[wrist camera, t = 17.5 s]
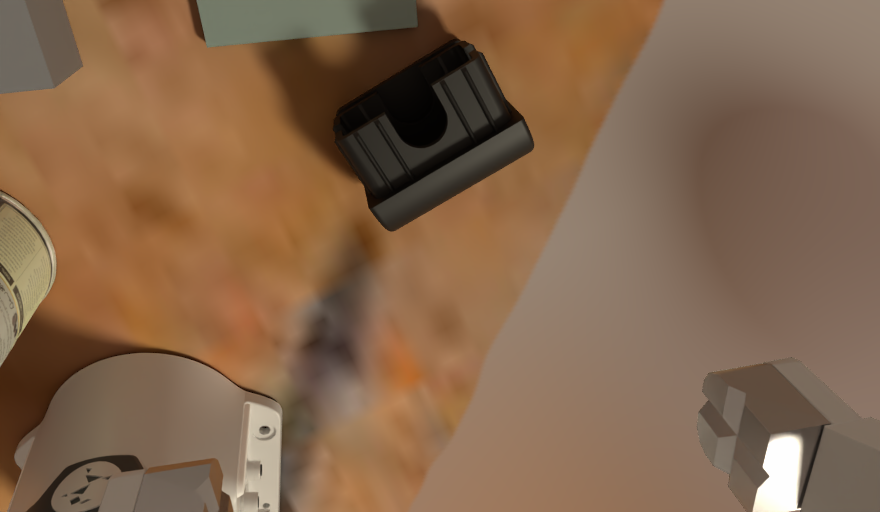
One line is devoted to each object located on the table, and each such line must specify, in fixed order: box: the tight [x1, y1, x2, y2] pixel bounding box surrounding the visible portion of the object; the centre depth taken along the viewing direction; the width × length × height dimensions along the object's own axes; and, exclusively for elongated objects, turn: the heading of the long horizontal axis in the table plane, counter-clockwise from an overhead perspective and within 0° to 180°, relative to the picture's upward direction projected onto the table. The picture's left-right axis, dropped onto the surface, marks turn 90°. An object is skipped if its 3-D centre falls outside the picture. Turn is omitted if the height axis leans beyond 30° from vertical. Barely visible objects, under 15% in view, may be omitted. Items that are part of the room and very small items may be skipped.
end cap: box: [333, 39, 534, 231], centre depth 40 cm, size 10×7×7 cm
